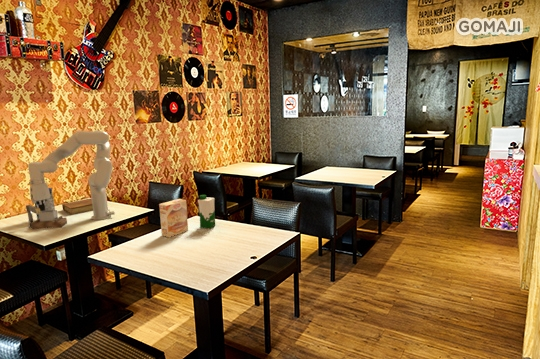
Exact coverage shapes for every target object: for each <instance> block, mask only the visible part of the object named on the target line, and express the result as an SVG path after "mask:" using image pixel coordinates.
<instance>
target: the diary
mask: <svg viewBox="0 0 540 359" xmlns="http://www.w3.org/2000/svg"><path fill="white" fill-rule="evenodd" d="M63 210H64V211H63ZM62 211H63V212H65V213H67V214H68V215H71V216H73V215H78V214H82V213H88V212H93V206H92V198H86V199H81V200H76V201H71V202H66V203H62Z"/></svg>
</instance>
